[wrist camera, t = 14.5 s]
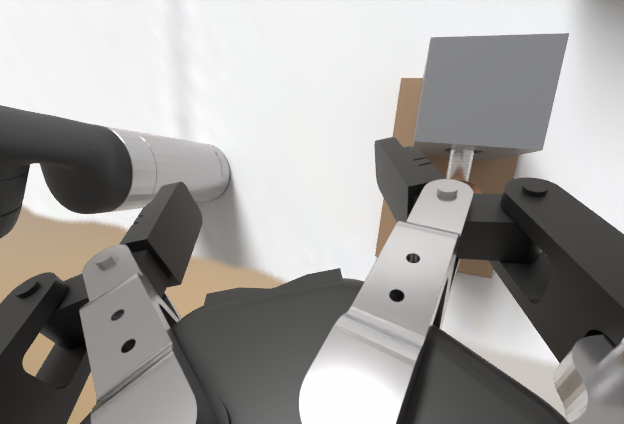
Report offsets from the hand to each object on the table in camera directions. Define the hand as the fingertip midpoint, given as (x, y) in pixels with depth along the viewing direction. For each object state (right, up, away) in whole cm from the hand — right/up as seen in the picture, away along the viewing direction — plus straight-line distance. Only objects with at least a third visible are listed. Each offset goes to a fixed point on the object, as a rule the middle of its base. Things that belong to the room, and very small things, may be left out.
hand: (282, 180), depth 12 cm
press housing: (+18, +3, +24) cm, 30 cm away
